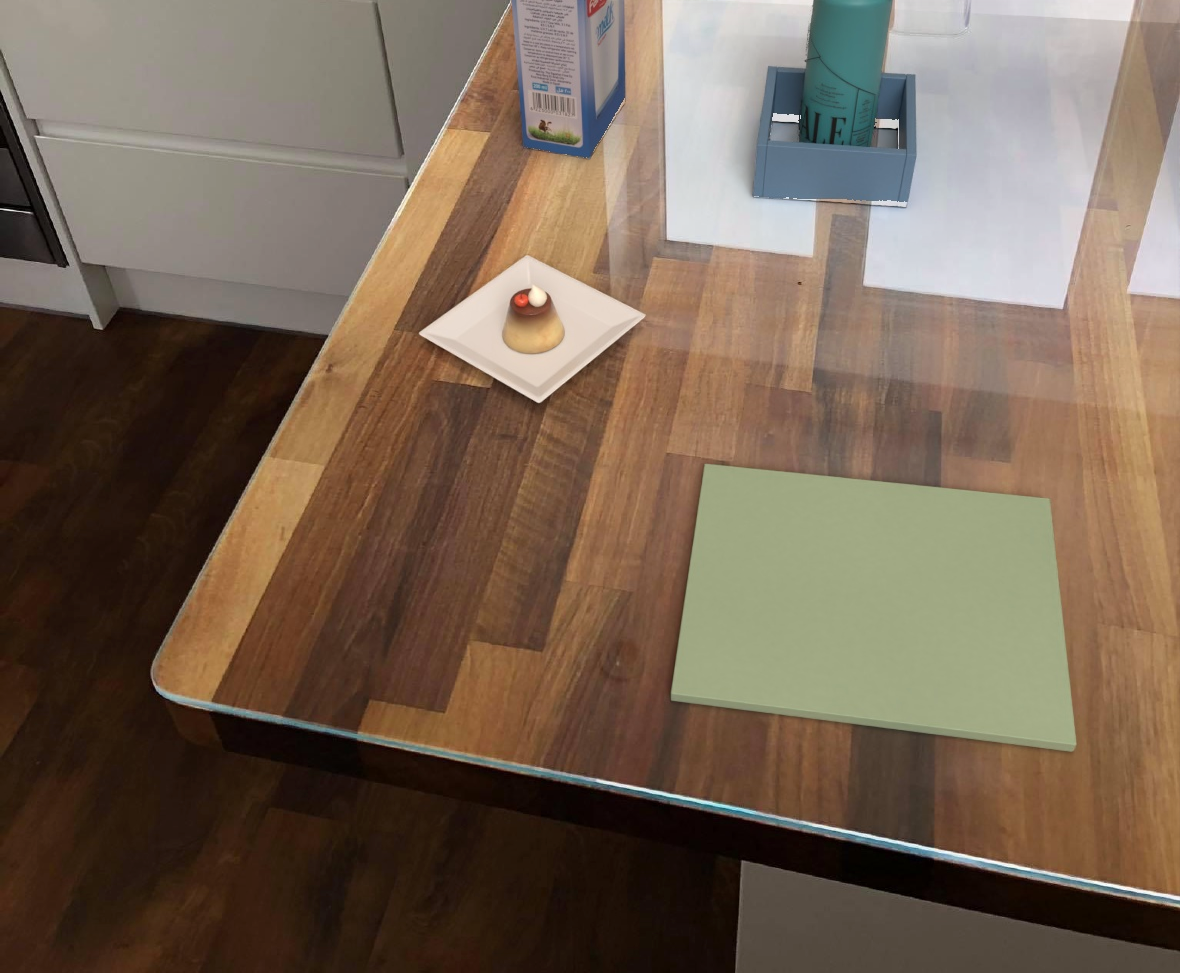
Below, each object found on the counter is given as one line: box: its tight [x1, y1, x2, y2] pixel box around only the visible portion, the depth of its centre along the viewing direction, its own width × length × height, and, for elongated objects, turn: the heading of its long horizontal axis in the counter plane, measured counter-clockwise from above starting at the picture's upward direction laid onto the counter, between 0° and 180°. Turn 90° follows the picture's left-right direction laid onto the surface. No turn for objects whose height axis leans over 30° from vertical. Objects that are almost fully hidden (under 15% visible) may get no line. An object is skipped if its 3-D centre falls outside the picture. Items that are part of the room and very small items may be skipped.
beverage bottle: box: [796, 0, 894, 147], centre depth 98 cm, size 6×7×20 cm
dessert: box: [418, 254, 647, 404], centre depth 89 cm, size 12×12×5 cm
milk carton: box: [511, 0, 626, 160], centre depth 103 cm, size 10×6×20 cm, turn 160°
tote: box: [752, 65, 918, 203], centre depth 104 cm, size 13×13×5 cm
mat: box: [670, 463, 1078, 753], centre depth 74 cm, size 22×18×1 cm
